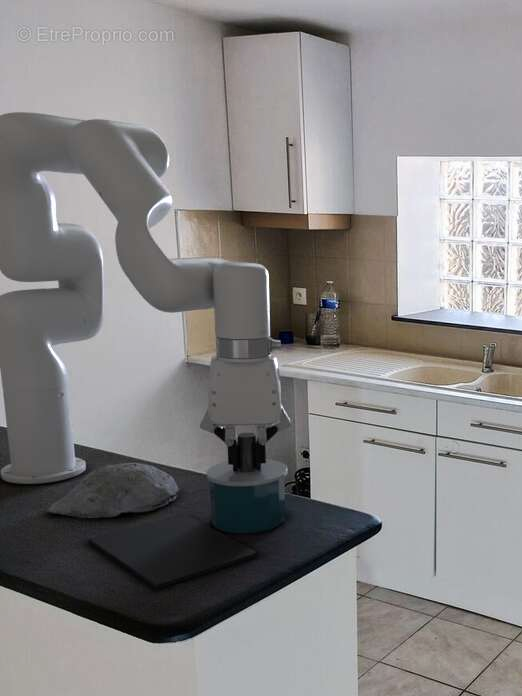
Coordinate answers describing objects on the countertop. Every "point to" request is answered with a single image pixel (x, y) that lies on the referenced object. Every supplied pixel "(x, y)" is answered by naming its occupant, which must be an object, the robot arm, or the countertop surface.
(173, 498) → the stone
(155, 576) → the mat
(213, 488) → the pot
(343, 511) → the countertop surface
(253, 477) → the lid
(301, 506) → the countertop surface
